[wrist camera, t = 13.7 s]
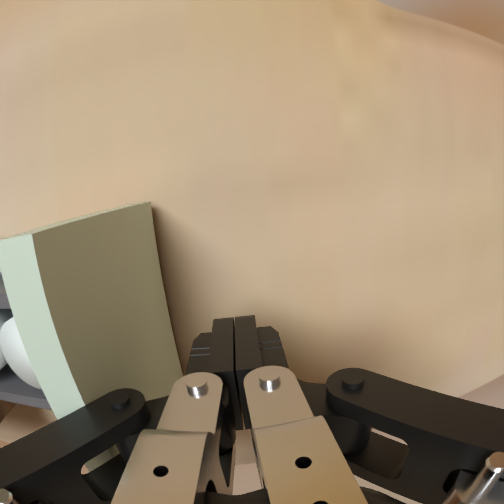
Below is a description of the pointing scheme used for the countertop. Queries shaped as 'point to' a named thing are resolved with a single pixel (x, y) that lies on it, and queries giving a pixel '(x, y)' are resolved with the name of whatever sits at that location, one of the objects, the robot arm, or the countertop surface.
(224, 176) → the countertop surface
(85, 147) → the countertop surface
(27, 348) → the pullout shelf
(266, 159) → the countertop surface
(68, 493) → the robot arm
